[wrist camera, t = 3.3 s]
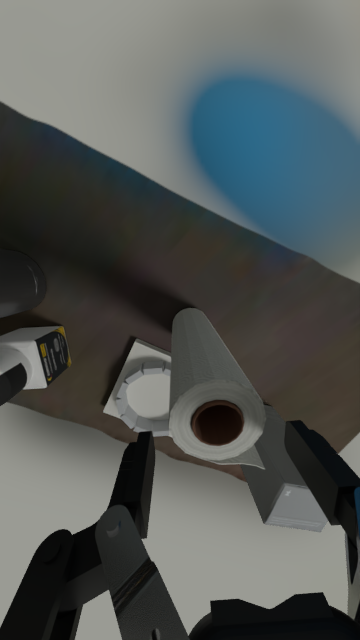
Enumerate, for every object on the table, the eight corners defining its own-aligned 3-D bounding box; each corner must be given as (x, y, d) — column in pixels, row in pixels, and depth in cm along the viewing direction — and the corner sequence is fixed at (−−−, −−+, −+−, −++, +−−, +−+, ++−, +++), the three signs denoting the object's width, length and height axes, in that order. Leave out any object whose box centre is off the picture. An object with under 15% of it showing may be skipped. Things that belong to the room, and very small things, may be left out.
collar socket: (105, 406, 36) (97, 422, 32) (136, 338, 32) (131, 347, 29) (177, 432, 38) (178, 451, 34) (213, 371, 34) (218, 384, 31)
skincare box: (223, 423, 38) (256, 529, 22) (236, 392, 36) (282, 485, 21) (262, 432, 38) (320, 540, 23) (277, 403, 37) (350, 499, 21)
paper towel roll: (170, 308, 31) (162, 387, 11) (207, 305, 31) (270, 376, 11) (174, 349, 33) (175, 482, 13) (209, 346, 33) (266, 473, 13)
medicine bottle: (72, 364, 33) (18, 415, 22) (31, 366, 33) (-46, 418, 22) (64, 325, 32) (-1, 358, 20) (20, 327, 31) (-70, 361, 20)
